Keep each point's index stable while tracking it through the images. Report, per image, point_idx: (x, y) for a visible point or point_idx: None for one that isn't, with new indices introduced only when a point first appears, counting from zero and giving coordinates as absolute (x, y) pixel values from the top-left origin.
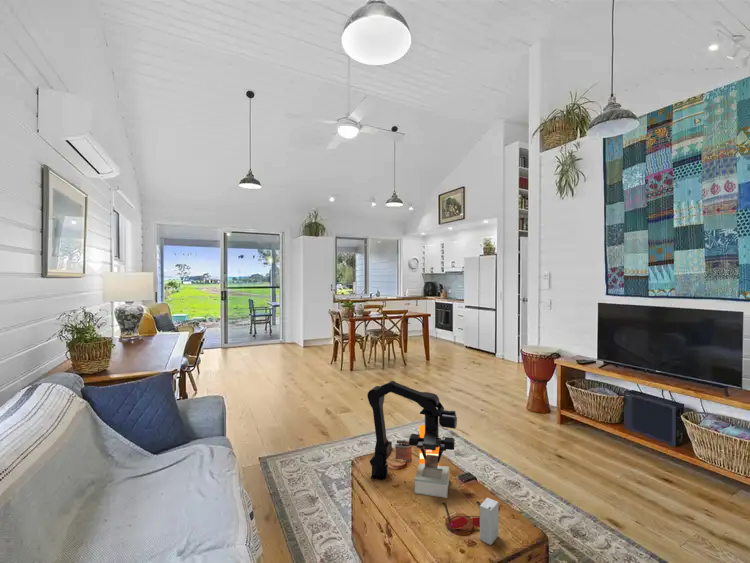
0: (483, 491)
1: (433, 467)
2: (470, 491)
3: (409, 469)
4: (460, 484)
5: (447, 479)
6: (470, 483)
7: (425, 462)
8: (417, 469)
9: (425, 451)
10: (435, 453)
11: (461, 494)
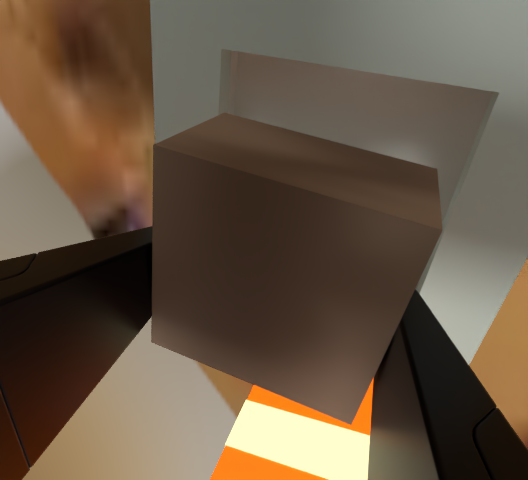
0: (8, 103)
1: (274, 128)
2: (75, 97)
3: (518, 398)
4: (143, 183)
5: (161, 73)
6: (89, 194)
7: (424, 200)
8: (517, 275)
9: (382, 476)
10: (257, 460)
11: (124, 47)
